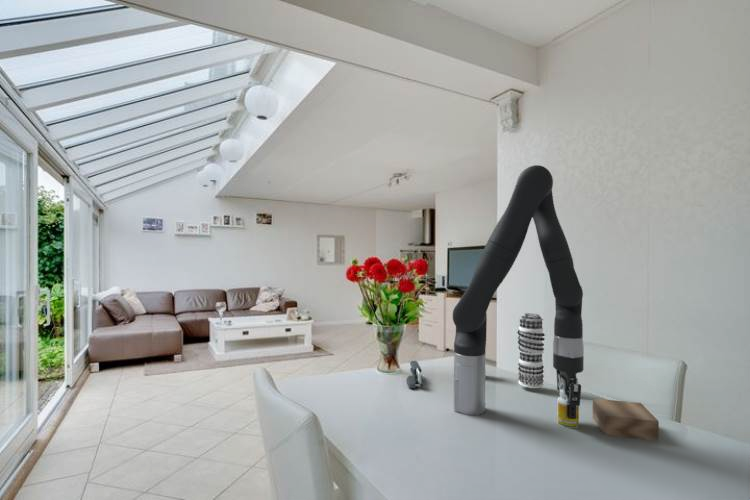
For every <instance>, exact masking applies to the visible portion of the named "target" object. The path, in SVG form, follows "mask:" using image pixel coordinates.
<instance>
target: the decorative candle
mask: <svg viewBox="0 0 750 500" xmlns="http://www.w3.org/2000/svg"><path fill="white" fill-rule="evenodd" d="M518 319H519V328H518V330H517V332H516V334H518V335H517V340H518V341H517V344H518V346H517V347H518V348H517V349H518V352H519V359H518V361H519V362H518V365H517V366H518V367H517V369H518V373H517V376H518V377H517V379H518V381H517V382H518V384H519V385H520V386H522V387H525V388H529V389H541V388H543V387H544V381H545V380H544V376H545V375H544V372H545V370H544V368H545V366H544V361H543V354H544V352H545V351H544V350H545V348H544V346H545V344H544V343H543V341H545V336H546V334H545V333H544V332H543V331H544V328H543V320H544V319H543V318H542V317H541V316H540V315H539V314H537V313H532V312H531V313H529V312H525V313H523V314H522V315H521V316H520V317H518Z"/></svg>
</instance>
